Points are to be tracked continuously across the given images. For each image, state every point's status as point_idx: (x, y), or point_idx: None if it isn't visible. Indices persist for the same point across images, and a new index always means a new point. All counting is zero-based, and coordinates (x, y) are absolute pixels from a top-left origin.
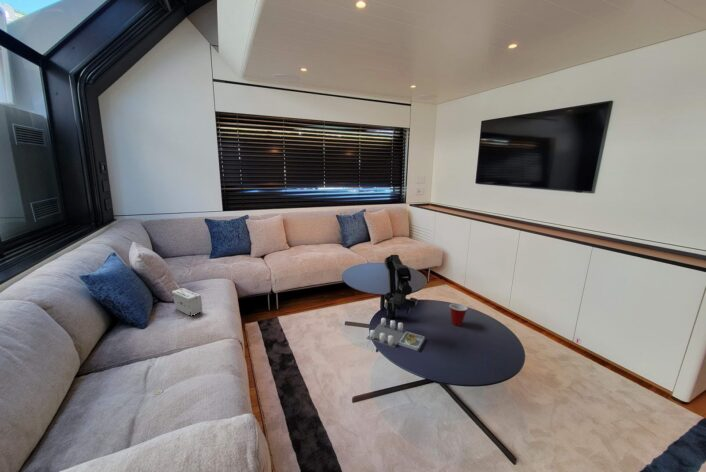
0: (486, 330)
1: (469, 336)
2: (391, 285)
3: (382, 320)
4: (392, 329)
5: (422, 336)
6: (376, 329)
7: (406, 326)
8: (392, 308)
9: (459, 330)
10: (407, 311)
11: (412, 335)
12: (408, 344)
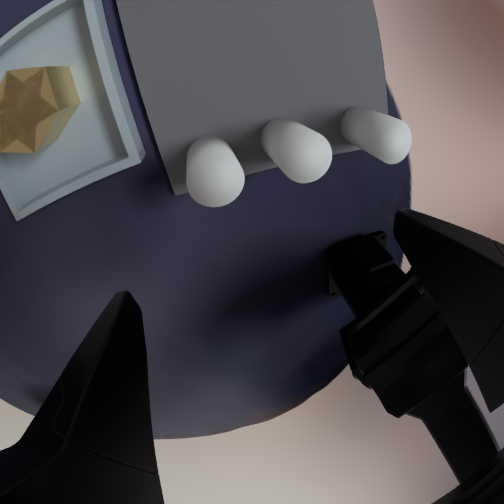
0: (31, 400)
1: (8, 359)
2: (483, 445)
3: (392, 118)
4: (270, 120)
5: (22, 209)
6: (369, 47)
7: (215, 245)
8: (430, 231)
9: (48, 372)
10: (93, 344)
11: (23, 125)
12: (42, 57)
